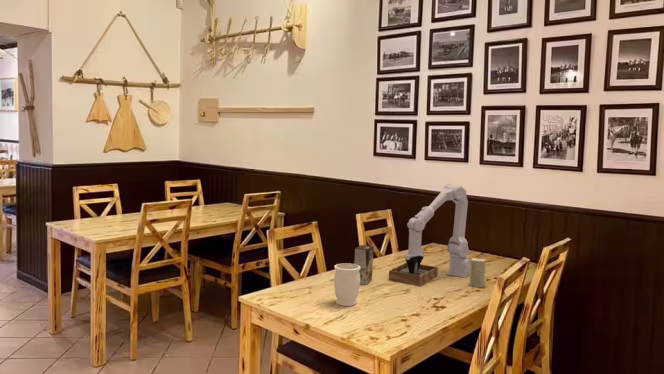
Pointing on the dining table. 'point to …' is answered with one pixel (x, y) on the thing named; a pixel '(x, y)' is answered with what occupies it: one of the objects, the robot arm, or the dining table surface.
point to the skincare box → (477, 272)
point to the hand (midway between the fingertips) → (413, 272)
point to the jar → (346, 283)
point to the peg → (415, 270)
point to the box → (420, 279)
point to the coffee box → (364, 263)
